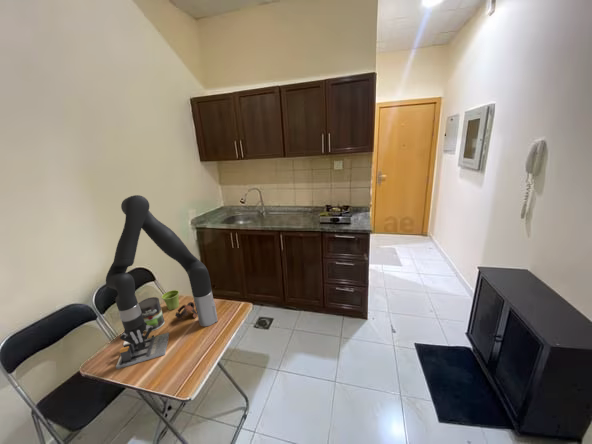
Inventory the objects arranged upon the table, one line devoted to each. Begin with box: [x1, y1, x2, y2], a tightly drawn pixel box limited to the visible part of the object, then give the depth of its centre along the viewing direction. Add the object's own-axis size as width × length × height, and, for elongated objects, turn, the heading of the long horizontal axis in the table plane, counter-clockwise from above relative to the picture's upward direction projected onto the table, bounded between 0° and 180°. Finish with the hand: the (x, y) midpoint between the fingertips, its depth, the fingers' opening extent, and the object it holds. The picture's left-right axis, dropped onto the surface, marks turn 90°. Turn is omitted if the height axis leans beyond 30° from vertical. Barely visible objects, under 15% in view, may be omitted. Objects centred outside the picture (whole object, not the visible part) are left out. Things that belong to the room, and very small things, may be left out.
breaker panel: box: [115, 332, 170, 370], centre depth 115 cm, size 19×14×2 cm
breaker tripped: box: [119, 346, 132, 362], centre depth 108 cm, size 3×2×5 cm
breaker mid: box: [122, 340, 135, 353], centre depth 112 cm, size 3×2×5 cm
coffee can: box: [138, 296, 166, 332], centre depth 131 cm, size 10×10×14 cm
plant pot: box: [161, 289, 180, 311], centre depth 147 cm, size 9×9×9 cm
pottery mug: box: [175, 301, 198, 320], centre depth 138 cm, size 12×10×8 cm
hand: (142, 348), depth 110 cm, fingers closed
